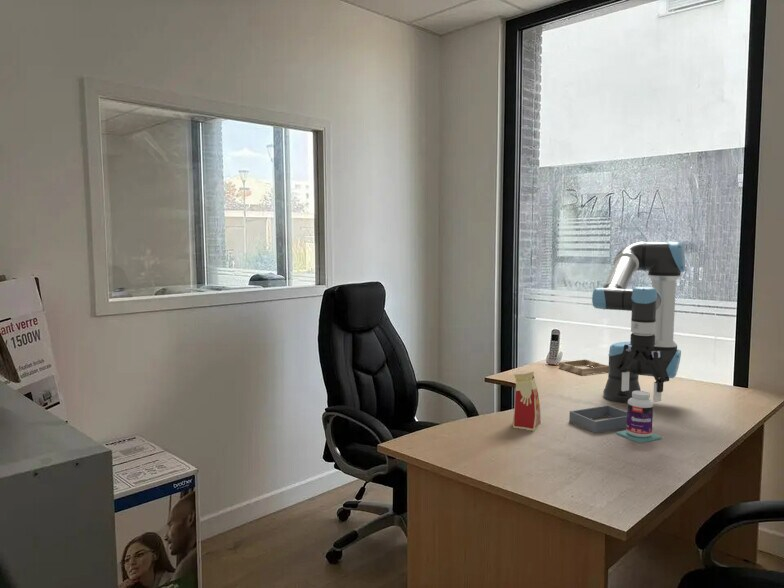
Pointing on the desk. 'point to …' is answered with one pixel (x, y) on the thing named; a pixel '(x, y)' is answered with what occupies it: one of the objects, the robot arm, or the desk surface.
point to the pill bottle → (639, 414)
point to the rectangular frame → (585, 421)
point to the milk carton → (526, 403)
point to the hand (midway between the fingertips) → (640, 395)
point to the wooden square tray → (571, 367)
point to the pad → (639, 439)
